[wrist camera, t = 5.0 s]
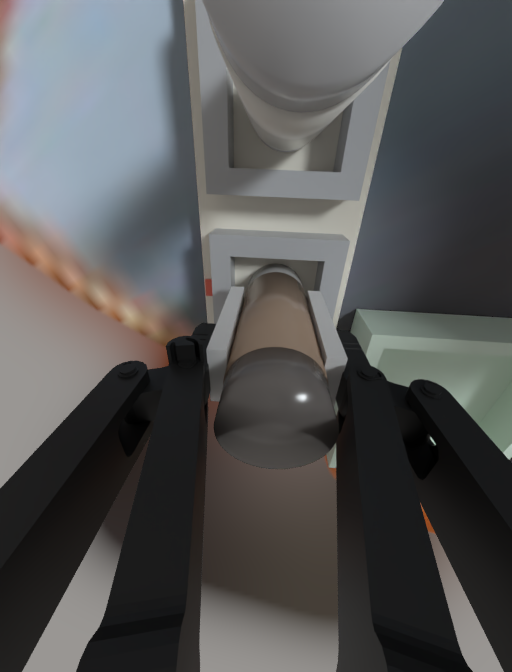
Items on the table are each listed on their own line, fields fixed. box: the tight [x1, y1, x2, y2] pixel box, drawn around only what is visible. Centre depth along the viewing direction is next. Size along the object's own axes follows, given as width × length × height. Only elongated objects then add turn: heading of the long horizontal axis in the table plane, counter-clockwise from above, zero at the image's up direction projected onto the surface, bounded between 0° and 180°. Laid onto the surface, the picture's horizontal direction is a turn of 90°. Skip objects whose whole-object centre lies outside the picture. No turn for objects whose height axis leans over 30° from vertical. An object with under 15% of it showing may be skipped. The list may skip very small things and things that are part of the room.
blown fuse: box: [214, 263, 339, 469], centre depth 13 cm, size 4×4×12 cm
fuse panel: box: [183, 0, 402, 328], centre depth 15 cm, size 20×10×3 cm, turn 178°
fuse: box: [202, 0, 444, 153], centre depth 8 cm, size 4×4×12 cm
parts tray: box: [327, 309, 512, 468], centre depth 22 cm, size 15×15×4 cm
